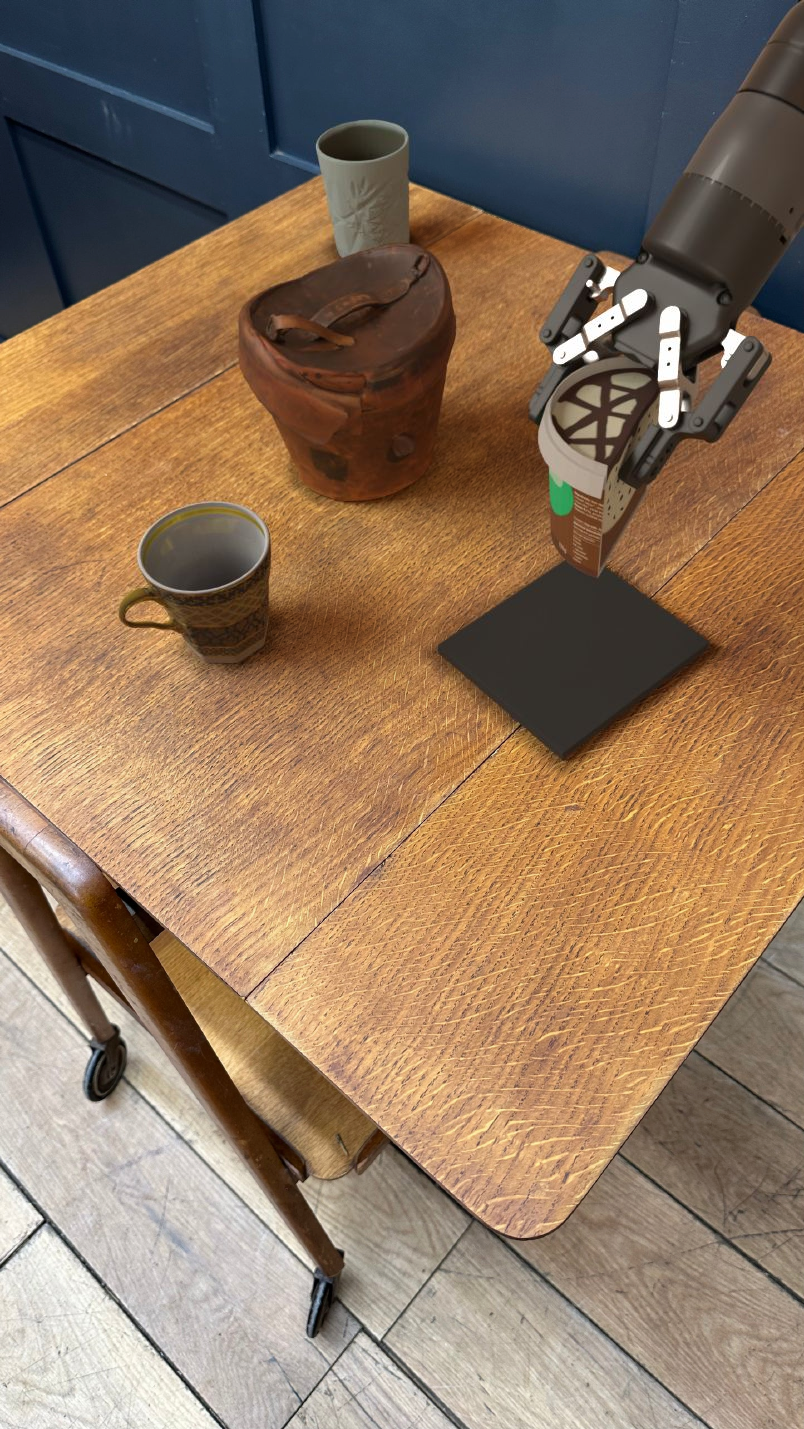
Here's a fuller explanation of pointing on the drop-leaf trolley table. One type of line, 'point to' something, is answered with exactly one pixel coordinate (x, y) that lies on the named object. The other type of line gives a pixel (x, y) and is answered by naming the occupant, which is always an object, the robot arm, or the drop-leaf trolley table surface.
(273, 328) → the case
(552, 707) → the mat
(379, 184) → the embossed grey tumbler
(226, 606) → the ceramic cup
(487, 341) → the drop-leaf trolley table surface
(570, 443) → the food container
